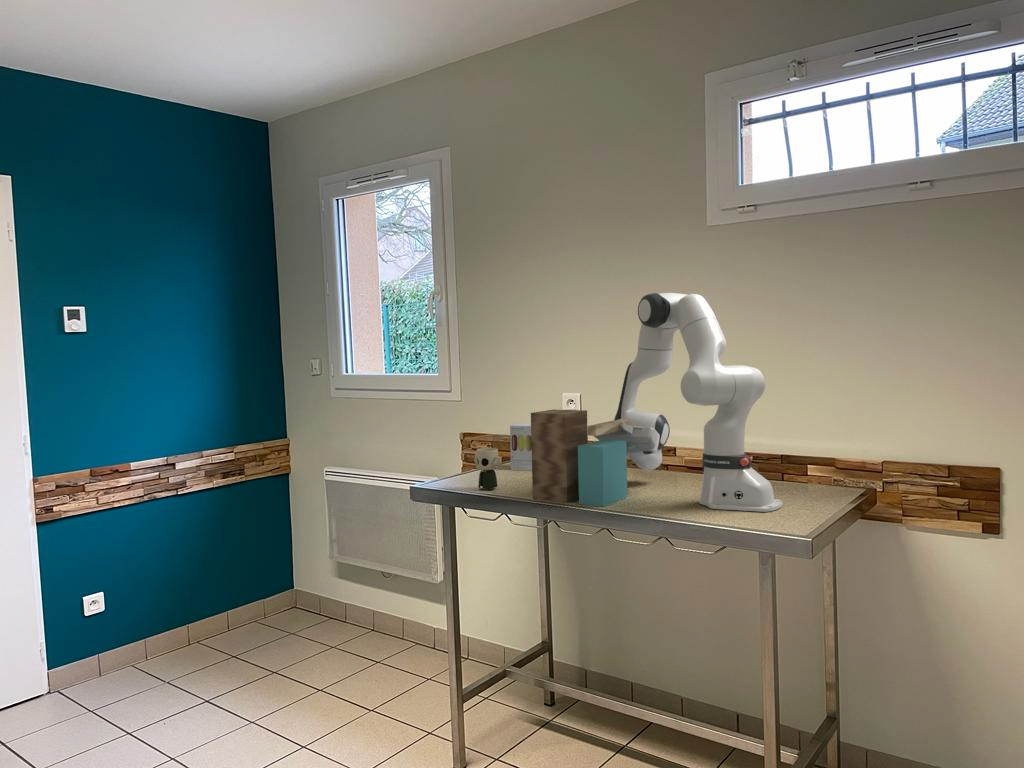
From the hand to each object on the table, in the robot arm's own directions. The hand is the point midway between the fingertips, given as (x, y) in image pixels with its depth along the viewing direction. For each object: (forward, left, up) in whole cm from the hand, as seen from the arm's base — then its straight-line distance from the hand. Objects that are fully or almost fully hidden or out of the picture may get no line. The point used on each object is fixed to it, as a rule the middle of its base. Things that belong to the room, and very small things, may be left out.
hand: (614, 424), depth 234 cm
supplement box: (+55, -32, -22) cm, 67 cm away
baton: (0, +3, -2) cm, 4 cm away
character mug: (+42, +9, -22) cm, 48 cm away
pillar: (+14, +9, -22) cm, 27 cm away
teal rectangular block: (0, +8, -22) cm, 23 cm away
